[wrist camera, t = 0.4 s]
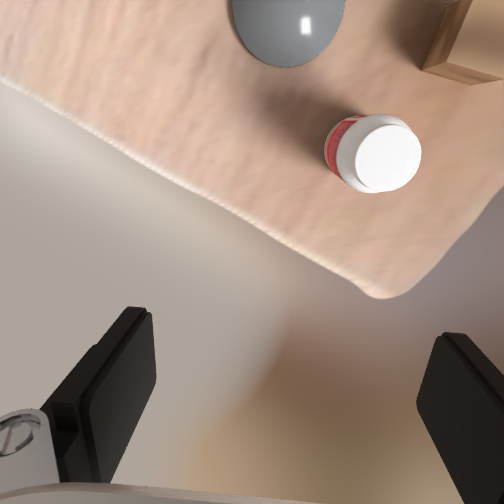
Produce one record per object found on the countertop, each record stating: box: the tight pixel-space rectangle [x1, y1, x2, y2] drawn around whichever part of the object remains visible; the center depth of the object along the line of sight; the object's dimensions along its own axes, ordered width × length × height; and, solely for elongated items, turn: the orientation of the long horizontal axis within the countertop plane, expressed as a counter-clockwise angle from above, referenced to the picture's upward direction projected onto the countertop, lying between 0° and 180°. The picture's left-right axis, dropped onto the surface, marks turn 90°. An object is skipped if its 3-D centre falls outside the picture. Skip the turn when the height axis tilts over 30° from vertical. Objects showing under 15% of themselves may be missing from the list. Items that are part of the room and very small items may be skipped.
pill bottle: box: [324, 114, 421, 193], centre depth 28 cm, size 6×6×11 cm
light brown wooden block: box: [421, 0, 504, 85], centre depth 27 cm, size 5×5×5 cm
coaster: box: [232, 0, 345, 68], centre depth 29 cm, size 10×10×1 cm
